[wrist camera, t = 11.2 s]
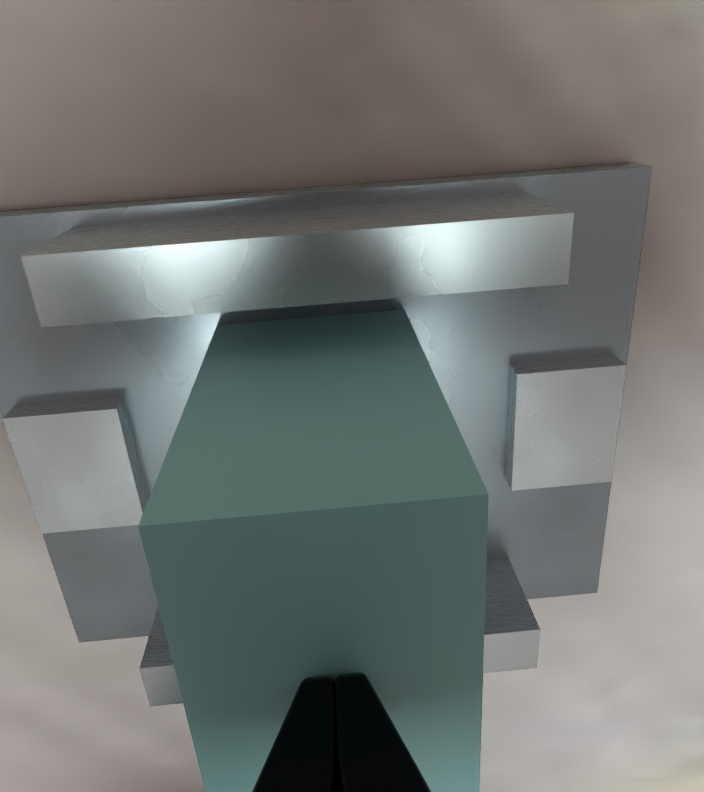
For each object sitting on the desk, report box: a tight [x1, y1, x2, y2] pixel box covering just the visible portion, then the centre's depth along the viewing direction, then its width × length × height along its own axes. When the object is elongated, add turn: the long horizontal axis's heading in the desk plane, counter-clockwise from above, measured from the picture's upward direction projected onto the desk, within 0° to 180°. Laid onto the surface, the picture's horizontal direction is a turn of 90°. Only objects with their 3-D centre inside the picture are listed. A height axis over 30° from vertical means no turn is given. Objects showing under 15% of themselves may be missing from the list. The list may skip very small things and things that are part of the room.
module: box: [138, 310, 489, 792], centre depth 12 cm, size 6×4×7 cm
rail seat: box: [0, 163, 652, 706], centre depth 14 cm, size 11×14×3 cm
